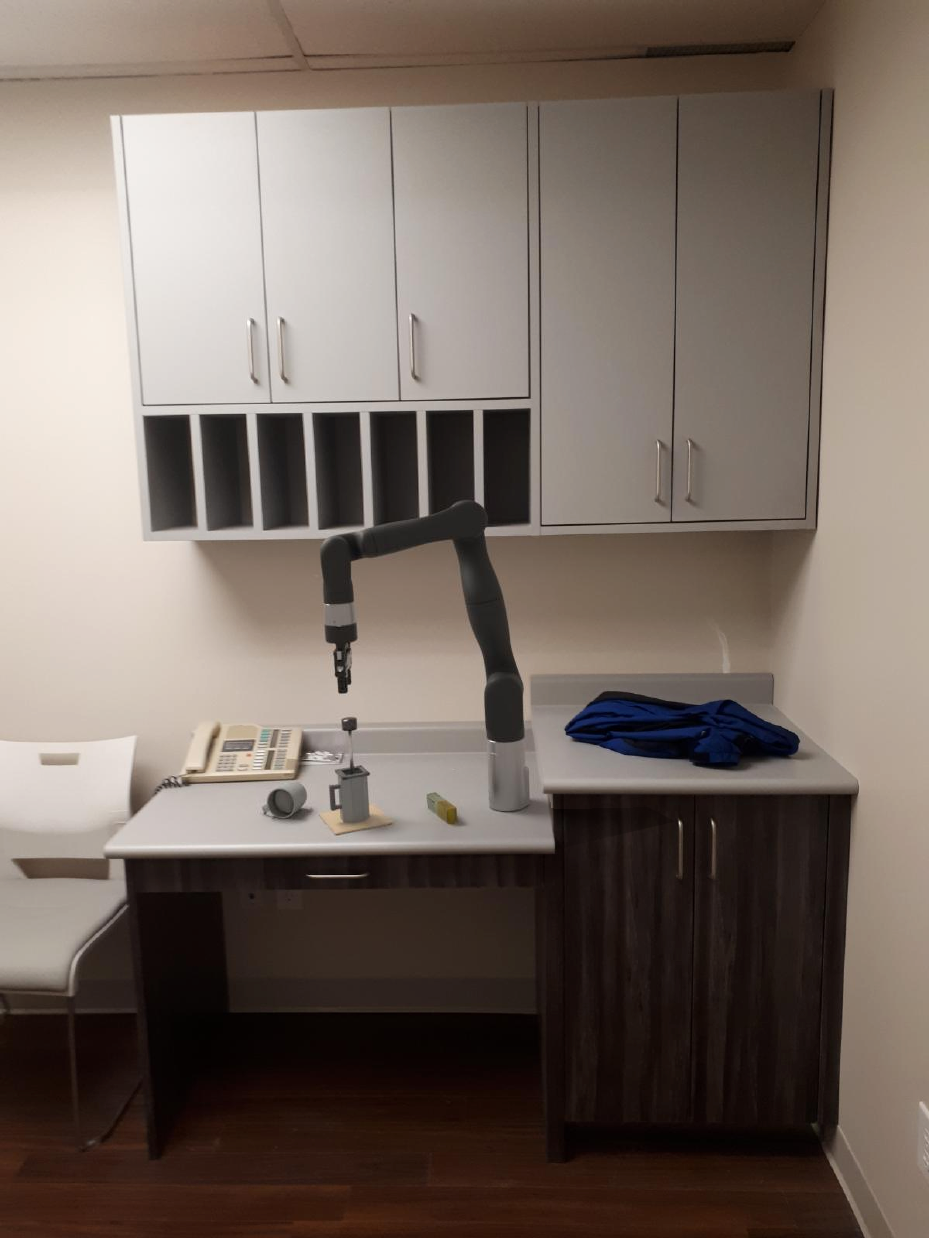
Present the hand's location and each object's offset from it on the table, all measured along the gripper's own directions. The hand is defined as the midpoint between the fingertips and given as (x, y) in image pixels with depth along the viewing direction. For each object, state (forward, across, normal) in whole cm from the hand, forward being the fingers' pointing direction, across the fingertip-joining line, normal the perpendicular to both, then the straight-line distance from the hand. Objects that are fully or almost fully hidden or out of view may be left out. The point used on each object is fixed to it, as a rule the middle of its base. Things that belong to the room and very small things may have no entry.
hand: (345, 688), depth 214 cm
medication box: (+32, +2, +21) cm, 39 cm away
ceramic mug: (+32, -4, -18) cm, 37 cm away
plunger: (+21, +3, +1) cm, 21 cm away
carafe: (+32, +2, 0) cm, 32 cm away
